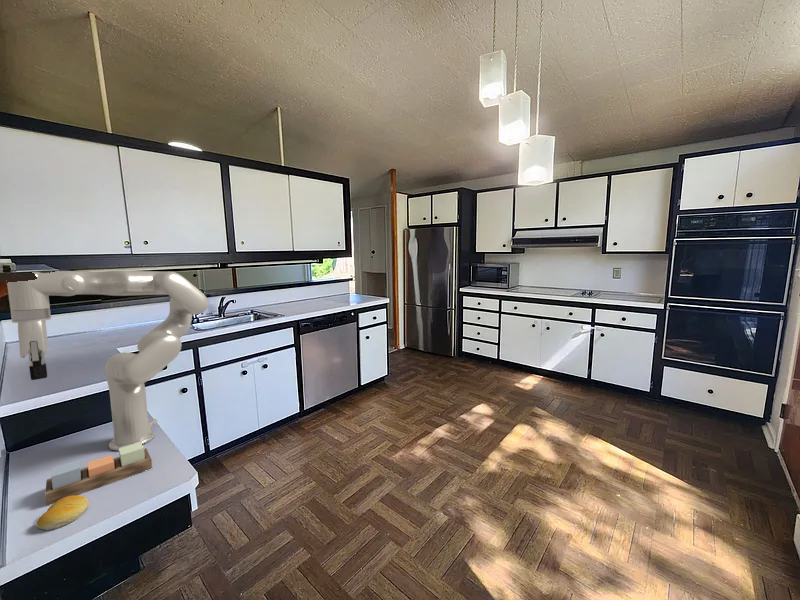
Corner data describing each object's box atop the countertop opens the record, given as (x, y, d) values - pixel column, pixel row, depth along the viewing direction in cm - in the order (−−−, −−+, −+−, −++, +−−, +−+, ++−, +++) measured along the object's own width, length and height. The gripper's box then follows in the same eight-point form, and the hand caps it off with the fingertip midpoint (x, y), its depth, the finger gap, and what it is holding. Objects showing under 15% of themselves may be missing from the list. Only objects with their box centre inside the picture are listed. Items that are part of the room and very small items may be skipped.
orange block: (113, 467, 100) (112, 454, 99) (115, 475, 96) (114, 461, 96) (88, 475, 96) (87, 462, 96) (89, 483, 92) (88, 470, 92)
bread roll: (29, 536, 76) (27, 519, 76) (56, 509, 84) (54, 494, 84) (74, 527, 78) (72, 511, 78) (96, 501, 87) (94, 487, 86)
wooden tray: (147, 457, 107) (146, 448, 107) (152, 468, 101) (151, 459, 100) (47, 489, 92) (46, 479, 91) (46, 505, 85) (45, 495, 85)
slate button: (80, 473, 95) (79, 460, 94) (81, 481, 91) (79, 468, 91) (53, 482, 91) (51, 468, 91) (52, 491, 87) (51, 477, 87)
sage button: (142, 453, 105) (141, 441, 104) (145, 460, 101) (144, 447, 100) (119, 460, 101) (118, 448, 100) (122, 468, 97) (120, 455, 97)
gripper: (14, 314, 97) (22, 375, 99) (8, 319, 87) (17, 388, 88) (51, 312, 102) (58, 370, 104) (49, 316, 92) (57, 381, 94)
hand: (39, 378), depth 96 cm, fingers closed
